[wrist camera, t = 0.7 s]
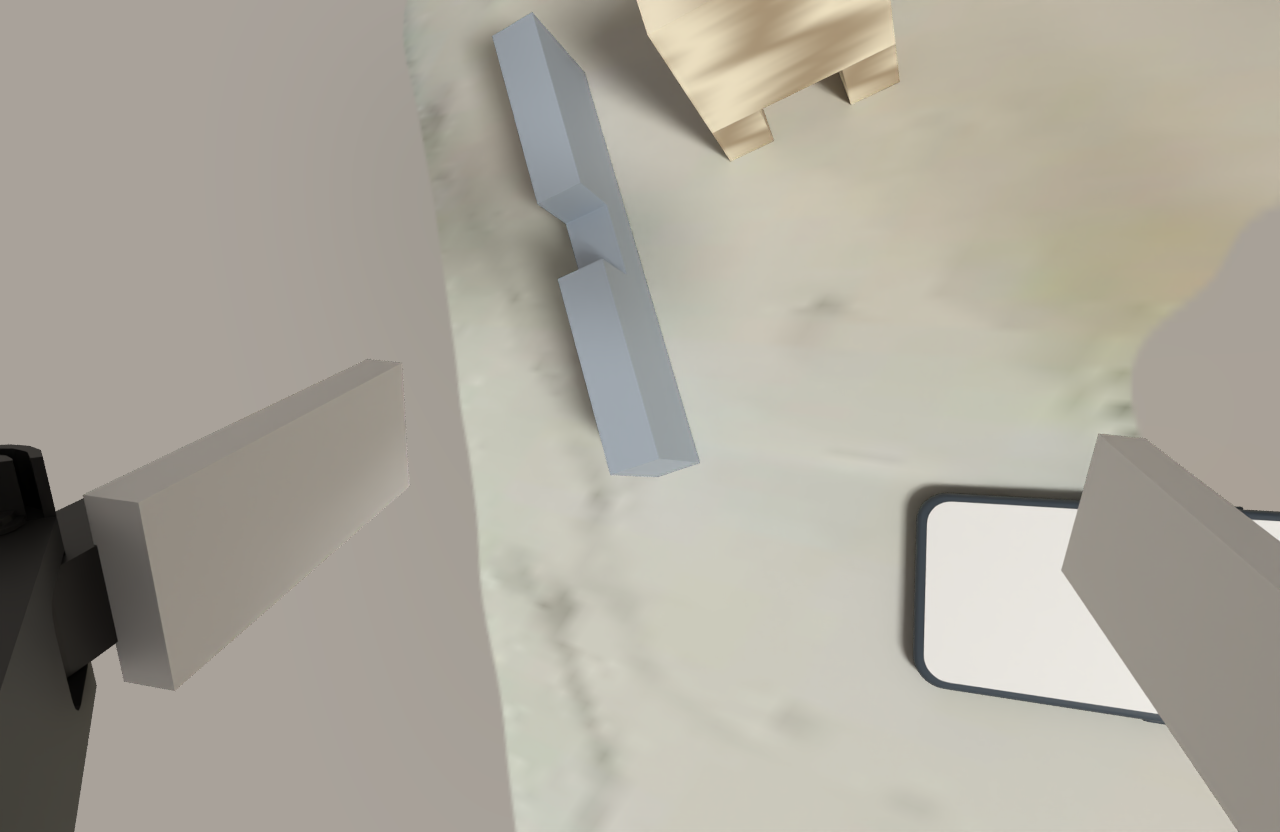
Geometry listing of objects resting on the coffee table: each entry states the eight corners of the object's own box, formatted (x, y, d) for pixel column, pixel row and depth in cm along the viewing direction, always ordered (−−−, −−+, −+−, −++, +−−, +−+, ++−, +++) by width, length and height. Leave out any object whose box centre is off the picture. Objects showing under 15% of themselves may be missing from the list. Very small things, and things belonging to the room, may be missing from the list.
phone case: (913, 679, 35) (1360, 747, 28) (911, 688, 33) (1383, 761, 27) (918, 489, 35) (1356, 513, 29) (916, 489, 34) (1377, 514, 28)
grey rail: (584, 72, 44) (532, 12, 38) (699, 462, 39) (659, 458, 33) (548, 92, 44) (492, 36, 39) (657, 476, 40) (610, 475, 34)
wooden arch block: (882, 39, 37) (856, -151, 26) (899, 81, 37) (879, -94, 26) (717, 121, 40) (630, -19, 29) (730, 161, 40) (647, 35, 29)
